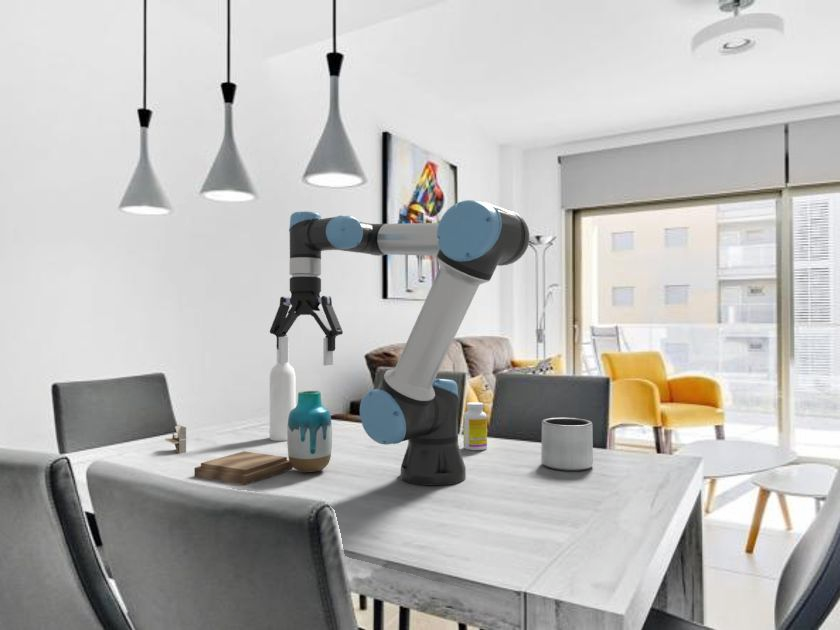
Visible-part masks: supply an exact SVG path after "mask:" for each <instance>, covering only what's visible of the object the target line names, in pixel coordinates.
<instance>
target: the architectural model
mask: <svg viewBox="0 0 840 630" xmlns="http://www.w3.org/2000/svg"><path fill="white" fill-rule="evenodd" d="M174 428H175V431H176V434H177V435H176V434H174V433H172V437H168V438H167V437H166V438H164V441H166V442H168V443H171V444H173V445H174V447H175V450H176V452H177V453H179V454H186V453H187V427H186V426H185V425H181V424H178V425H176V426H174Z"/></svg>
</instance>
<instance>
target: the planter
mask: <svg viewBox="0 0 840 630" xmlns="http://www.w3.org/2000/svg"><path fill="white" fill-rule="evenodd" d="M593 434H594V433H593V421H590V420H588V419H583V418H577V417H549V418H544V419H542V420H541V453H540V454H541V457H540V458H541V459H540V460H541V464H542V465H543V466H545V467H546V468H548V469H552V470H557V471H561V472H562V471H563V472H579V471H580V472H582V471H585V470H588V469H590V468H591V467H593V464H594V449H593V448H594V447H593V446H594V444H593V443H594V441H593V440H594V439H593Z"/></svg>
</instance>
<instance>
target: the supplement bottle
mask: <svg viewBox="0 0 840 630" xmlns="http://www.w3.org/2000/svg"><path fill="white" fill-rule="evenodd" d="M466 409H467V411H465V412H464V413H463V417H462V419H463V448H464V449H465V450H467V451H473V452H474V451H477V452H478V451H484V450H486V449H487V448H488V423H487V422H488V419H487V418H488V415H487V413H486V412H485V411H484V410H483V409H484V403H483V402H477V401H476V402H475V401H473V402H472V401H471V402H466Z"/></svg>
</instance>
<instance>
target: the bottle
mask: <svg viewBox="0 0 840 630" xmlns="http://www.w3.org/2000/svg"><path fill="white" fill-rule="evenodd" d="M275 347H276V364H275V365H274V366H273V367H272V368H271V370H270V374H269V432H268V433H269V439H270V441H274V442H284V441H285V442H286V441H287V427H288V417H289V413H290V411H291V410H293V409H294V408H296V406H297V402H296V401H297V400H296V399H297V395H296V391H297V388H296V387H297V386H296V385H297V381H296V380H297V377H296V372H295V371H296V370H295V369H294V367H293V366H292V365H291V364H290V362H289V361H290V354H289V353H290V350H289V349H290V342H289V341H288V363H279V349H277V344H276V346H275Z"/></svg>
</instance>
